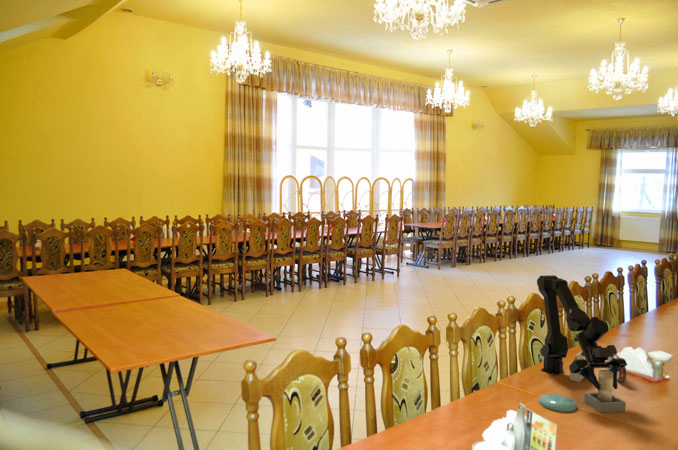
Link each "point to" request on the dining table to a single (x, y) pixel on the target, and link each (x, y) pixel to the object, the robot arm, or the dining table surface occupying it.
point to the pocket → (605, 403)
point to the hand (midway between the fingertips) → (607, 389)
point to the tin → (621, 374)
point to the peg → (605, 386)
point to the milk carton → (576, 375)
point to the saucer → (558, 403)
